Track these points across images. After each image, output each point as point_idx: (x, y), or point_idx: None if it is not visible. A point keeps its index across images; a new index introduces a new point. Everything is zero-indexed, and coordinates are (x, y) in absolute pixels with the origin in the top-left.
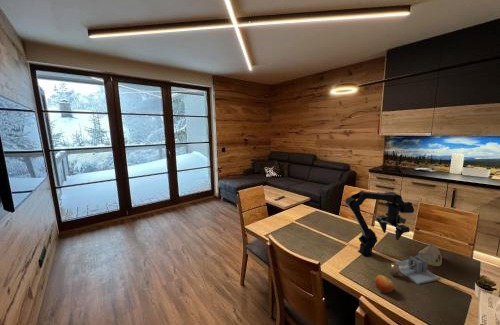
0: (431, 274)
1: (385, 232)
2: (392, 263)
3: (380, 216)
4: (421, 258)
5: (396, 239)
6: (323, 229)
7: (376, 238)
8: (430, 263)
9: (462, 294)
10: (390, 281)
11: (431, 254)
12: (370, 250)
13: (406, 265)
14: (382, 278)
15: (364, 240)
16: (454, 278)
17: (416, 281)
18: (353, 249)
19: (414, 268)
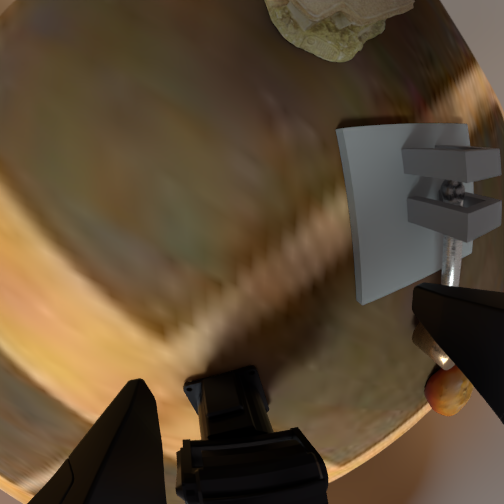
0: (454, 138)
1: (142, 383)
2: (446, 362)
3: None
4: (486, 163)
5: (425, 320)
6: (22, 453)
7: (321, 481)
8: (373, 34)
9: (497, 127)
10: (469, 382)
11: (410, 7)
12: (262, 409)
13: (458, 278)
14: (461, 407)
15: (192, 457)
16: (447, 50)
17: (466, 254)
18: (185, 433)
19: (420, 188)
